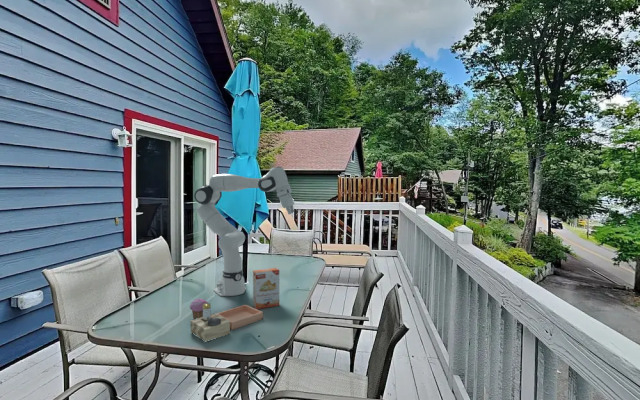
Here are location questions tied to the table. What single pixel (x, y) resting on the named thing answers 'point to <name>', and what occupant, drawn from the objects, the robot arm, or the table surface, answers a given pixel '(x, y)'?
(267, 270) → the cracker box
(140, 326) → the table surface
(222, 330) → the block
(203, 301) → the cupcake
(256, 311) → the tray
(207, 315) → the pin
